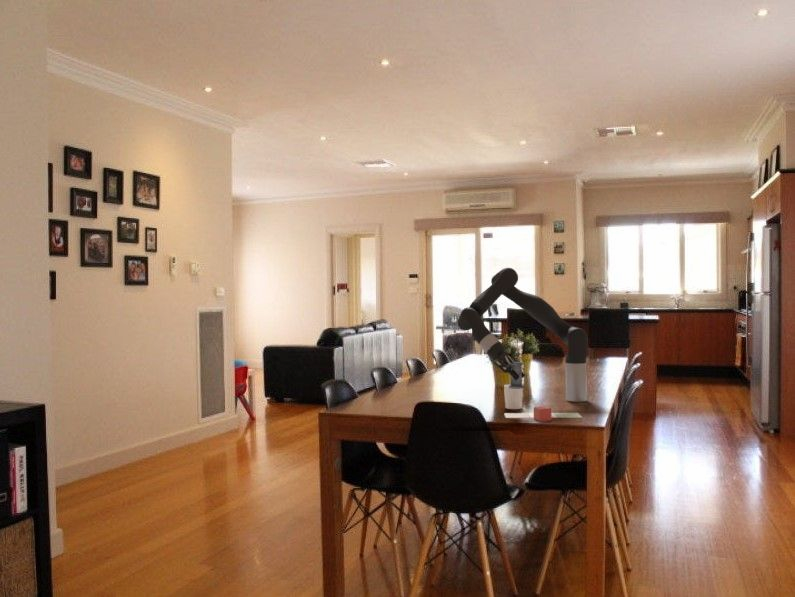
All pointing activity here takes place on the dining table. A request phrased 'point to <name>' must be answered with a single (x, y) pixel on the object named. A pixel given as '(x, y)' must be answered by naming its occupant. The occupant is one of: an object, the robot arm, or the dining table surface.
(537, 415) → the red die
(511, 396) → the white cup
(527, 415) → the game track
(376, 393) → the dining table surface
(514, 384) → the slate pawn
